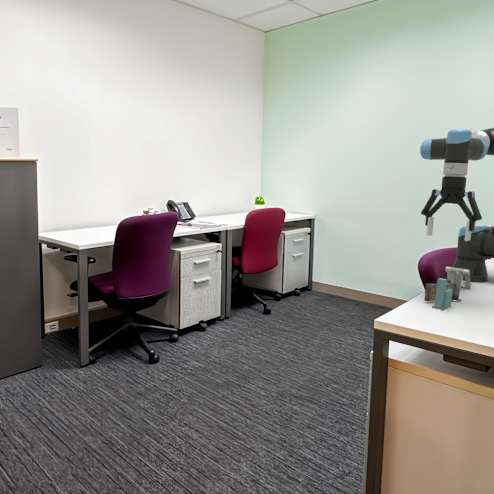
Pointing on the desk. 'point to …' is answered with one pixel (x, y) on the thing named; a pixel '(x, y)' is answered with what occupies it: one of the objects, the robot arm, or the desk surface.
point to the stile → (442, 295)
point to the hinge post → (456, 286)
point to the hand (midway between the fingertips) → (447, 238)
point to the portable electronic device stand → (464, 272)
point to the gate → (434, 291)
